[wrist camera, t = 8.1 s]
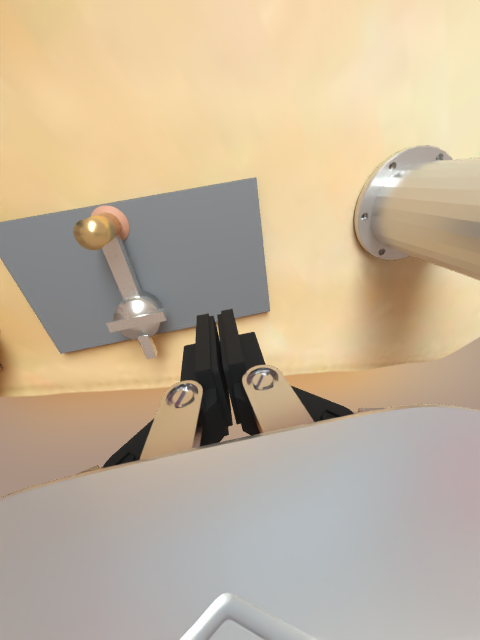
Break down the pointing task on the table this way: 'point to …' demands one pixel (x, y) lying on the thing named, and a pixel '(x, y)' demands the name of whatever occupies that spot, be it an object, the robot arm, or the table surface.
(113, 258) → the crank handle
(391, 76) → the table surface
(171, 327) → the base plate
